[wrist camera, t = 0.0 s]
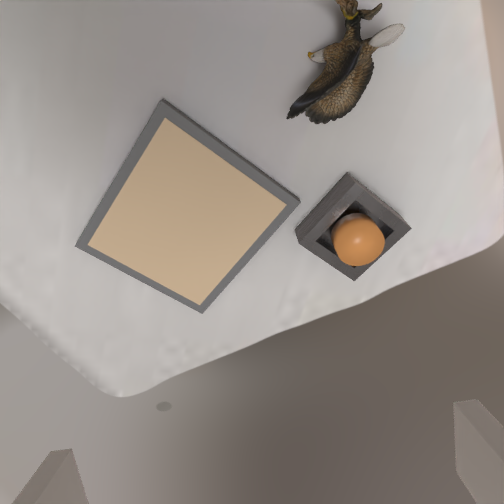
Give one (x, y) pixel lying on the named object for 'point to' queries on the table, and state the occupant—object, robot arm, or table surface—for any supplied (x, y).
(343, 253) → the button
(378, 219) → the button housing
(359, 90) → the eagle figurine
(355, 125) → the table surface
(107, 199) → the board
